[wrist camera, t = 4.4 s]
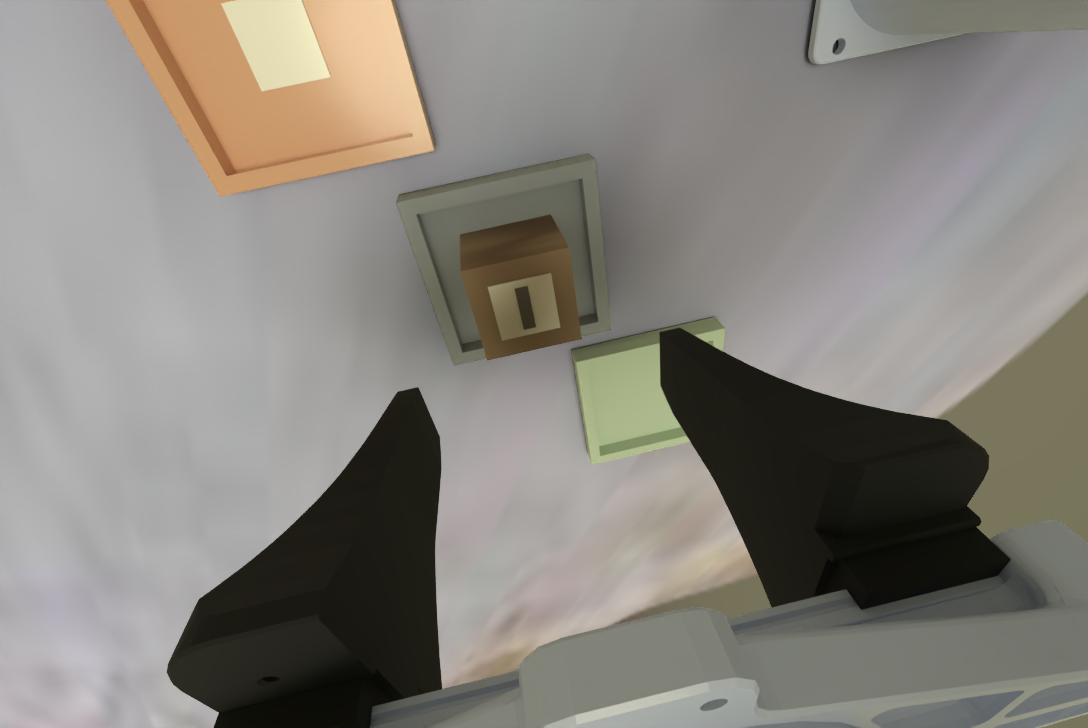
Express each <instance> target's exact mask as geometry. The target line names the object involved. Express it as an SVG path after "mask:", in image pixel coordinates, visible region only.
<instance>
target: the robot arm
mask: <svg viewBox="0 0 1088 728" xmlns="http://www.w3.org/2000/svg"><path fill="white" fill-rule="evenodd" d="M1086 29H1088V0H816V4H815V11H814V17H813V24H812V31H811V38H810V44H809V51H808V57H809V60H810V62H811V63H813V64H828V63H832V62H837V61H842V60H846V59H851V58H856V57H860V56H865V55H870V54H874V53H879V52H884V51H888V50H893V49H898V48H902V47H907V46H912V45H916V44H921V43H926V42H930V41H935V40H940V39H944V38H949V37H954V36H958V35H963V34H968V33H985V32H1018V31H1052V30H1086ZM836 40H838V41H839V45H838V48H837V50H836V51H835V52H834V53H833V52H832V47H833V45H834V43H835V42H836ZM659 338H660V386H661V388H662V391H663V393H664V395H665V398H666V400H667V402H668V404H669V406H670V408H671V411H672V413H673V415H674V416H675V418H676V419H677V421H678V423H679V424H680V426H681V427H682V429H683V431H684V432H685V434H686V435H687V437H688V439H689V440H690V442H691V443H692V445H693V447H694V448H695V450H696V451H697V453H698V454H699V456H700V458H701V459H702V461H703V462H704V464H705V465H706V467H707V469H708V470H709V472H710V474H711V475H712V477H713V479H714V481H715V482H716V484H717V486H718V488H719V490H720V492H721V494H722V496H723V498H724V500H725V503H726V505H727V507H728V509H729V511H730V513H731V515H732V517H733V519H734V521H735V524H736V526H737V528H738V530H739V532H740V534H741V536H742V539H743V541H744V543H745V545H746V548H747V550H748V552H749V554H750V557H751V559H752V561H753V564H754V566H755V568H756V570H757V573H758V575H759V577H760V580H761V582H762V584H763V587H764V589H765V592H766V594H767V597H768V599H769V601H770V604H771V607H772V608H768V609H765V610H760V611H756V612H752V613H748V614H744V615H740V616H736V617H732V618H728V619H727V618H726V616H725V614H724V613H721V612H719V611H716V610H712V609H708V608H705V607H694V608H686V609H678V610H674V611H669V612H666V613H661V614H657V615H653V616H649V617H645V618H642V619H637V620H633V621H629V622H625V623H621V624H617V625H613V626H608V627H604V628H600V629H596V630H592V631H588V632H584V633H580V634H576V635H572V636H568V637H564V638H560V639H558V640H555V641H553V642H550V643H547V644H545V645H542V646H540V647H538V648H537V649H536V650H534V651H533V652H532V653H531V654H529V655H528V656H527V657H526V658H525V659H524V660H523V661H522V663H521V664H520V670H518V671H514V672H510V673H506V674H502V675H498V676H494V677H490V678H486V679H482V680H478V681H474V682H470V683H465V684H461V685H457V686H453V687H449V688H445V689H442V682H441V670H440V658H439V642H438V625H437V604H436V577H435V538H436V525H437V514H438V502H439V491H440V478H441V450H440V437H439V434H438V432H437V430H436V427H435V425H434V423H433V420H432V418H431V416H430V413H429V411H428V409H427V406H426V404H425V402H424V399H423V397H422V395H421V392H420V390H419V388H418V387H417V388H413V389H408V390H404V391H400V392H397V394H396V395H395V397H394V398H393V400H392V401H391V403H390V404H389V406H388V407H387V409H386V410H385V412H384V413H383V415H382V417H381V418H380V420H379V421H378V423H377V424H376V426H375V427H374V429H373V430H372V432H371V433H370V435H369V436H368V438H367V439H366V441H365V442H364V444H363V445H362V446H361V448H360V449H359V450H358V452H357V453H356V454H355V456H354V457H353V458H352V460H351V461H350V462H349V464H348V465H347V466H346V468H345V469H344V470H343V471H342V473H341V474H340V475H339V476H338V477H337V479H336V480H335V481H334V482H333V483H332V484H331V486H330V487H329V488H328V489H327V490H326V491H325V492H324V493H323V494H322V496H321V497H320V498H319V499H318V500H317V501H316V502H315V503H314V504H313V505H312V506H311V507H310V508H309V509H308V510H307V511H306V512H305V513H304V514H303V515H302V516H301V517H300V518H299V519H298V520H297V521H296V522H295V523H294V524H292V525H291V526H290V527H289V528H288V529H287V530H286V531H285V532H284V533H283V534H282V535H281V536H279V537H278V538H277V539H276V540H275V541H274V542H273V543H271V544H270V545H269V546H268V547H267V548H266V549H264V550H263V551H262V552H261V553H260V554H258V555H257V556H256V557H255V558H254V559H252V560H251V561H250V562H248V563H247V564H246V565H245V566H243V567H242V568H241V569H240V570H238V571H237V572H235V573H234V574H233V575H231V576H230V577H229V578H227V579H226V580H225V581H223V582H222V583H221V584H219V585H218V586H217V587H215V588H214V589H213V590H211V591H210V592H209V593H207V594H206V595H204V596H203V597H202V598H200V599H199V600H198V602H197V604H196V606H195V608H194V610H193V612H192V615H191V617H190V619H189V621H188V623H187V625H186V627H185V629H184V631H183V634H182V636H181V638H180V640H179V642H178V644H177V646H176V648H175V650H174V653H173V655H172V657H171V659H170V661H169V663H168V668H167V674H168V676H169V678H170V680H171V682H172V683H173V685H175V686H176V687H177V688H178V689H180V690H181V691H182V692H184V693H186V694H188V695H189V696H191V697H193V698H194V699H196V700H198V701H200V702H201V703H203V704H205V705H207V706H208V707H210V708H212V709H214V710H215V711H217V712H219V714H218V717H217V720H216V723H215V725H214V728H1041V727H1044V726H1047V725H1051V724H1054V723H1058V722H1061V721H1064V720H1068V719H1071V718H1074V717H1078V716H1081V715H1085V714H1088V543H1087V542H1086V541H1084V540H1083V539H1082V538H1080V537H1079V536H1078V535H1077V534H1075V533H1074V532H1073V531H1072V530H1070V529H1069V528H1068V527H1066V526H1065V525H1064V524H1063V523H1061V522H1060V521H1059V520H1053V519H1052V520H1047V521H1043V522H1039V523H1035V524H1031V525H1027V526H1022V527H1018V528H1015V529H1010V530H1007V531H1004V532H1002V533H999V534H998V535H996V536H994V537H992V538H991V539H988V538H987V537H986V536H985V535H984V534H983V533H982V532H981V531H980V530H979V529H978V528H977V527H976V526H979V525H980V523H981V520H980V517H979V516H977V515H976V514H975V513H974V512H973V511H972V510H970V508H969V507H967V505H968V503H969V501H970V500H971V498H972V497H973V495H974V494H975V492H976V490H977V489H978V487H979V486H980V484H981V482H982V481H983V479H984V477H985V475H986V473H987V471H988V467H989V455H988V454H987V452H986V450H985V449H984V448H983V447H982V446H980V445H979V444H977V443H976V442H975V441H974V440H972V439H971V438H969V437H968V436H967V435H966V434H965V433H963V432H962V431H961V430H959V429H958V428H957V427H955V426H954V425H953V424H951V423H950V422H949V421H947V420H941V419H935V418H929V417H923V416H917V415H911V414H905V413H899V412H894V411H889V410H884V409H880V408H875V407H871V406H866V405H862V404H858V403H854V402H850V401H846V400H842V399H839V398H835V397H832V396H829V395H825V394H822V393H819V392H815V391H812V390H809V389H806V388H803V387H801V386H798V385H795V384H793V383H790V382H787V381H785V380H782V379H779V378H777V377H775V376H772V375H770V374H768V373H765V372H763V371H761V370H759V369H757V368H755V367H752V366H750V365H748V364H746V363H744V362H742V361H740V360H738V359H736V358H734V357H732V356H730V355H728V354H727V353H725V352H723V351H721V350H719V349H717V348H716V347H714V346H712V345H710V344H708V343H707V342H705V341H703V340H701V339H700V338H698V337H696V336H694V335H693V334H691V333H689V332H687V331H685V330H684V329H682V328H680V327H679V328H675V329H671V330H666V331H662V332H659Z"/></svg>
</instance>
